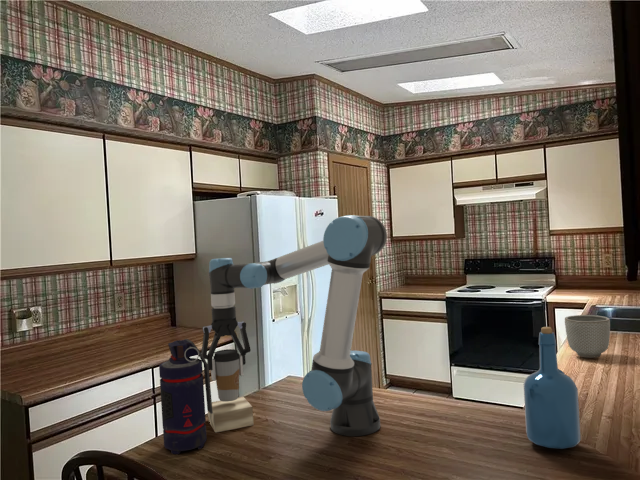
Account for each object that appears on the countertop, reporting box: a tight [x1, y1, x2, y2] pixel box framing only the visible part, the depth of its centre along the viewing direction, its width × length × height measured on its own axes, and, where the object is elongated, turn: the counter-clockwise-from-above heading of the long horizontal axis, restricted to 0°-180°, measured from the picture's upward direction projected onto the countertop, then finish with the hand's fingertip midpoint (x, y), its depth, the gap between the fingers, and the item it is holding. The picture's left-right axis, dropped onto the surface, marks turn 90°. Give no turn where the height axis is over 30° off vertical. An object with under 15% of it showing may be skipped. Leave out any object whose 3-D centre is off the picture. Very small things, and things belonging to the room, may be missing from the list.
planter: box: [564, 314, 611, 359], centre depth 221 cm, size 17×17×16 cm
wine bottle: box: [523, 326, 581, 450], centre depth 136 cm, size 14×13×30 cm
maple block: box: [207, 396, 255, 433], centre depth 164 cm, size 12×12×6 cm
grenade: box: [158, 338, 213, 455], centre depth 147 cm, size 14×12×30 cm
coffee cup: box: [213, 348, 240, 402], centre depth 164 cm, size 8×8×15 cm
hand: (227, 377), depth 164 cm, fingers closed on coffee cup, 8 cm apart
